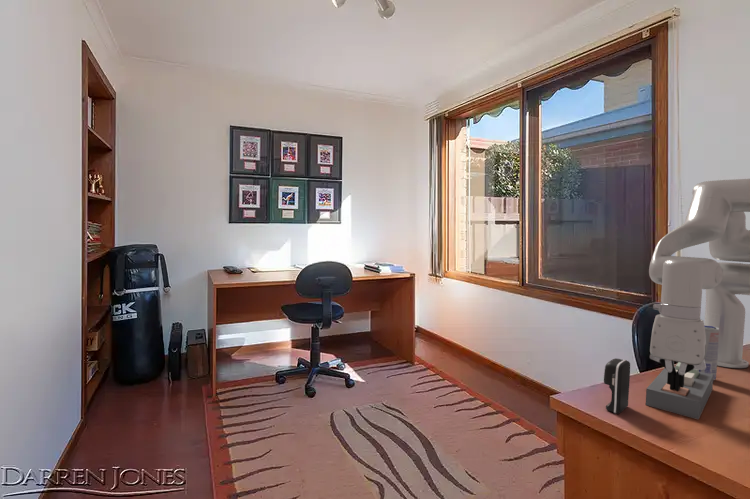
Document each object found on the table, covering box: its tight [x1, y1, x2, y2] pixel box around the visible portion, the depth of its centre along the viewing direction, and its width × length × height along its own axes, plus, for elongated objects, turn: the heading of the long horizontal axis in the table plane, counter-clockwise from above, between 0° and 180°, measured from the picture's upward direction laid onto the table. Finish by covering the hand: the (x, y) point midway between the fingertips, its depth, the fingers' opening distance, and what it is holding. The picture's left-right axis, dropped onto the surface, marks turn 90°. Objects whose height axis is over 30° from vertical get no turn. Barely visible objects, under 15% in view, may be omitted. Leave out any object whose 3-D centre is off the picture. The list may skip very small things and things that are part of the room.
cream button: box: [676, 370, 694, 387], centre depth 102 cm, size 4×4×3 cm
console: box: [645, 366, 714, 421], centre depth 102 cm, size 24×10×4 cm, turn 135°
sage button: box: [675, 362, 699, 378], centre depth 107 cm, size 4×4×3 cm
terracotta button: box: [662, 384, 689, 396], centre depth 96 cm, size 4×4×3 cm
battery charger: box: [603, 358, 631, 415], centre depth 95 cm, size 7×4×11 cm, turn 132°
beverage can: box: [699, 324, 719, 381], centre depth 114 cm, size 5×5×15 cm
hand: (675, 388), depth 96 cm, fingers closed
